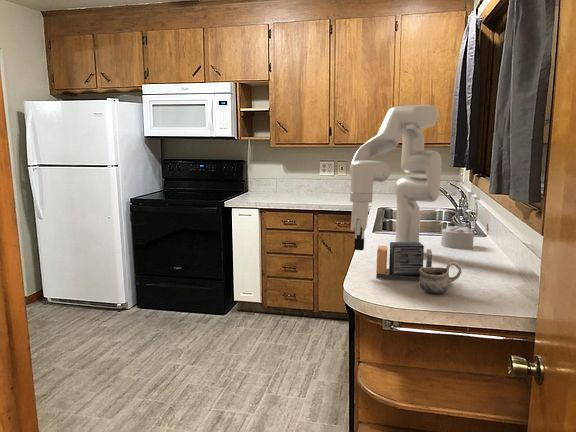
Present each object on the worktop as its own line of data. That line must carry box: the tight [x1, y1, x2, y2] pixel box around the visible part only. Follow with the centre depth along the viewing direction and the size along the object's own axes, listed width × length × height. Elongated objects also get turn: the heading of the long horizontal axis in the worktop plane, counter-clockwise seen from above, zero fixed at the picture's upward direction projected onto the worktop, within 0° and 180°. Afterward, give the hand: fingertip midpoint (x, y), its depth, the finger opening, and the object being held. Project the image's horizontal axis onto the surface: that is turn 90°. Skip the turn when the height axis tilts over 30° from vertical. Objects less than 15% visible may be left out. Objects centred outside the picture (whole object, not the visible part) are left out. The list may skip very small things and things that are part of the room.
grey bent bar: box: [375, 248, 433, 283], centre depth 165 cm, size 8×18×10 cm, turn 76°
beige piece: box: [440, 225, 475, 250], centre depth 212 cm, size 10×13×9 cm
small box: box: [388, 241, 425, 275], centre depth 165 cm, size 11×6×10 cm, turn 89°
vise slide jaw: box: [376, 245, 388, 274], centre depth 167 cm, size 8×3×8 cm, turn 166°
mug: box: [419, 261, 463, 294], centre depth 150 cm, size 10×12×10 cm
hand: (359, 249), depth 168 cm, fingers closed
